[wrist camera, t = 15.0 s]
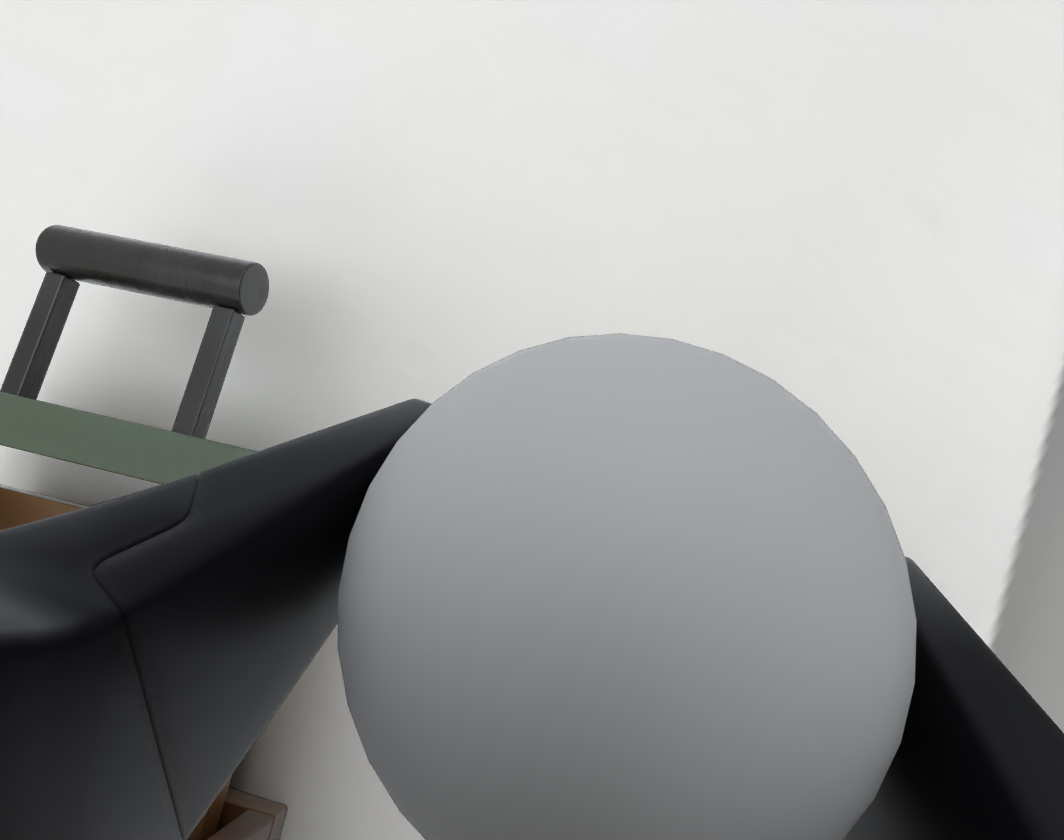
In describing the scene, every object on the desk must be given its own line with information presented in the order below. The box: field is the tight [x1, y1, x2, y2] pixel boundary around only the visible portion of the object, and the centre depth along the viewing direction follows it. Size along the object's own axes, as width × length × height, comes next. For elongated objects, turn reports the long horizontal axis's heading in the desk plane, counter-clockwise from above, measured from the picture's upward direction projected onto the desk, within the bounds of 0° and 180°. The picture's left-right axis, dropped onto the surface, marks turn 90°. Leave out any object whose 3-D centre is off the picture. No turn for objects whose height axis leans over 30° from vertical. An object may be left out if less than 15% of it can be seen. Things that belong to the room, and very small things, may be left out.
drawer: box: [0, 225, 269, 840], centre depth 17 cm, size 19×11×5 cm, turn 167°
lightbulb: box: [338, 333, 917, 840], centre depth 10 cm, size 6×6×11 cm
